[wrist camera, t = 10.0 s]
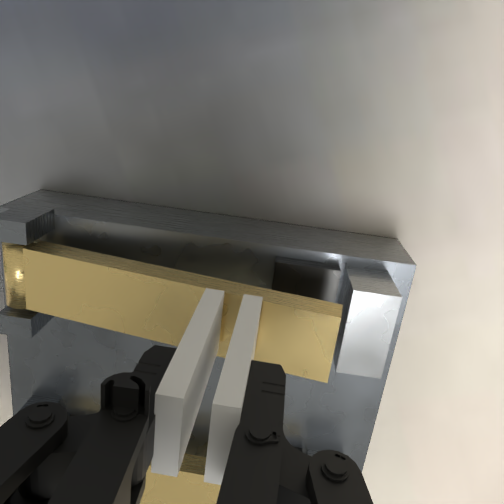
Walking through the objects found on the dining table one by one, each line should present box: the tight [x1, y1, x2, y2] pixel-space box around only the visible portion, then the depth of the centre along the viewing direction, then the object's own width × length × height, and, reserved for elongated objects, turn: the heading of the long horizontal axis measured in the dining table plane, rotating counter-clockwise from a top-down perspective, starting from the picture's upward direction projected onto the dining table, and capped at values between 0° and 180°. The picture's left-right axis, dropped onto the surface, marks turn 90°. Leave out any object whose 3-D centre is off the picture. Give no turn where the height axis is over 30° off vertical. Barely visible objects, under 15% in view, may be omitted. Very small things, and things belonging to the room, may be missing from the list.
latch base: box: [0, 190, 416, 473], centre depth 25 cm, size 20×17×7 cm
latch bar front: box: [2, 239, 343, 383], centre depth 20 cm, size 15×3×2 cm, turn 83°
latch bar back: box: [140, 453, 221, 504], centre depth 24 cm, size 15×3×2 cm, turn 83°
